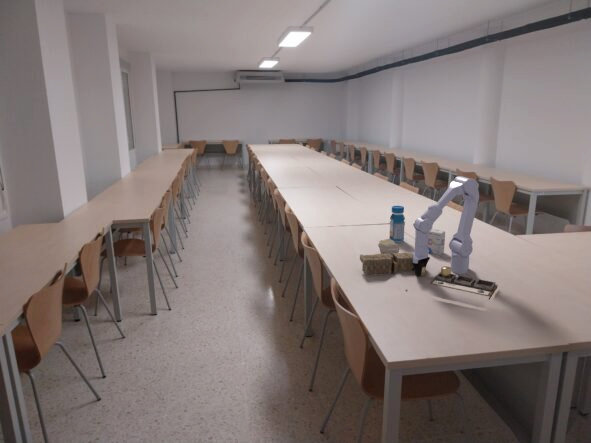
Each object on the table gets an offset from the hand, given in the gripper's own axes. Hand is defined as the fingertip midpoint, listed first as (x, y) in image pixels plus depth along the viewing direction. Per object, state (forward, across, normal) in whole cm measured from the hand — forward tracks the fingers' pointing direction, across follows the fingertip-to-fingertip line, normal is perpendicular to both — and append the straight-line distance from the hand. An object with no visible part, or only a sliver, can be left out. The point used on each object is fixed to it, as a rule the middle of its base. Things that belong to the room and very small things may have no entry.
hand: (419, 273), depth 190 cm
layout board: (+1, +1, +19) cm, 19 cm away
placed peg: (0, -1, +11) cm, 11 cm away
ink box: (+2, -38, -6) cm, 39 cm away
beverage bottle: (+2, -47, -31) cm, 56 cm away
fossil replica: (+2, -21, -24) cm, 32 cm away
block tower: (+2, 0, -14) cm, 14 cm away
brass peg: (+1, 0, 0) cm, 1 cm away
